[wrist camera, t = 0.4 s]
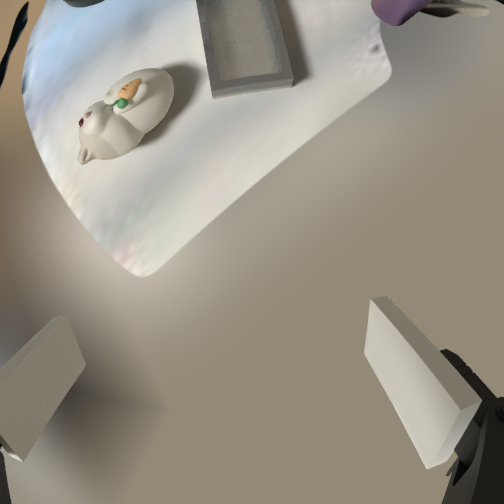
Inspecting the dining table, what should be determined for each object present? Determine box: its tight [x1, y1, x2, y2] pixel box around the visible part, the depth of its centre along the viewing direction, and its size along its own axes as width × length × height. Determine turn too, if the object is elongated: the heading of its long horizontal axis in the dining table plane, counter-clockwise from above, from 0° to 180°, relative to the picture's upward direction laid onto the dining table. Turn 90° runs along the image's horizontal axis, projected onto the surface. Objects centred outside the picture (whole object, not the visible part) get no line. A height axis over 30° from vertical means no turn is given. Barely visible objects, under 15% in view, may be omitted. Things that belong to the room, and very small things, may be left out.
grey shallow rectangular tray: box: [196, 0, 294, 99], centre depth 29 cm, size 20×10×4 cm, turn 10°
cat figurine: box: [78, 68, 174, 165], centre depth 30 cm, size 10×8×15 cm
